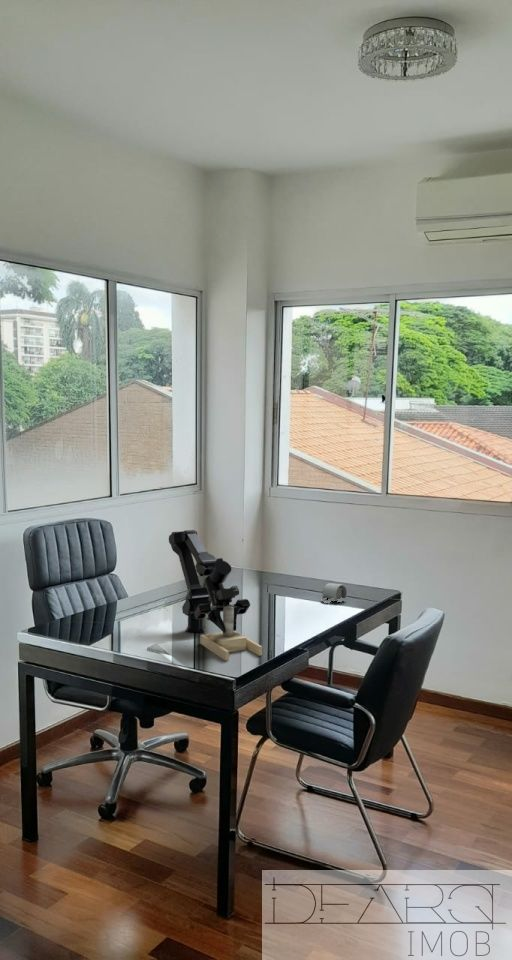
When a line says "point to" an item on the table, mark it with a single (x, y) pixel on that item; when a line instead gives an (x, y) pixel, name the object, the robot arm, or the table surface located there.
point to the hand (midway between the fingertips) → (230, 631)
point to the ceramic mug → (334, 591)
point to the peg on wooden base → (229, 633)
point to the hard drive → (157, 648)
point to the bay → (222, 651)
